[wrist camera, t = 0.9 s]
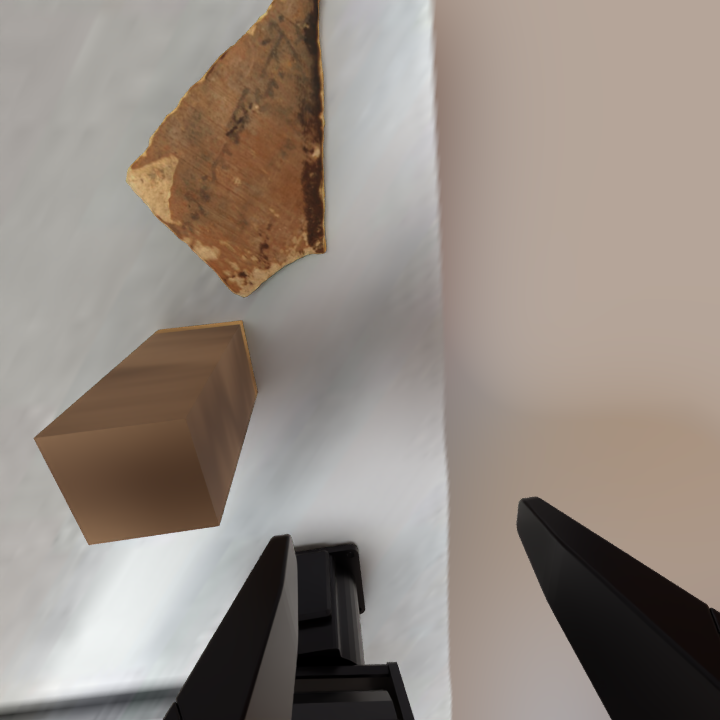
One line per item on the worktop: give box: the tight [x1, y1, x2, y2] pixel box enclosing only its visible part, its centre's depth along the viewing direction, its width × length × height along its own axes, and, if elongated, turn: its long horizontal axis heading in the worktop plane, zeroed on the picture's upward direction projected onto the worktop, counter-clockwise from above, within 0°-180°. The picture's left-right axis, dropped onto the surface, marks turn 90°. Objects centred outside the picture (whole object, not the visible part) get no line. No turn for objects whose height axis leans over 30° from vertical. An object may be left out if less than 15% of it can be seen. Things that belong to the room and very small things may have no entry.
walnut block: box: [34, 320, 258, 545], centre depth 15 cm, size 4×4×9 cm
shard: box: [126, 0, 326, 298], centre depth 16 cm, size 11×8×2 cm
